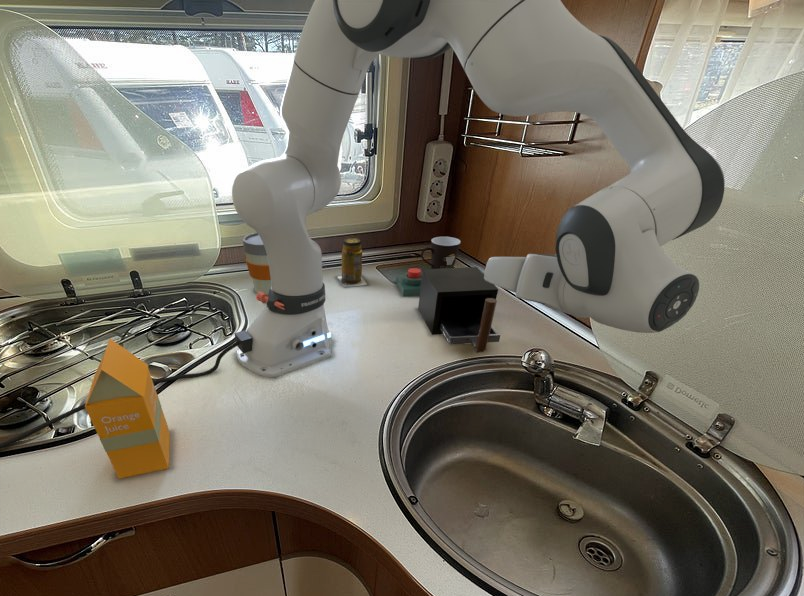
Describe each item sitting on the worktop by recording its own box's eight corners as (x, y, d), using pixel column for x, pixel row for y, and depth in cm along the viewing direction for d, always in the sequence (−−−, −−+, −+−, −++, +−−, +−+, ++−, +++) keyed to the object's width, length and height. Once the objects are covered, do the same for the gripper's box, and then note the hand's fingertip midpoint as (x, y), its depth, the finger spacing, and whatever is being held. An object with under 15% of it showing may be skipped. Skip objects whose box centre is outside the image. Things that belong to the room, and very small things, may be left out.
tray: (507, 353, 90) (520, 301, 83) (455, 356, 89) (465, 303, 82) (480, 319, 103) (490, 270, 96) (435, 321, 102) (441, 273, 95)
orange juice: (117, 479, 66) (67, 374, 54) (124, 441, 73) (80, 341, 61) (170, 468, 68) (132, 364, 56) (171, 432, 75) (138, 333, 63)
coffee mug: (453, 268, 136) (458, 236, 130) (457, 278, 129) (462, 245, 123) (417, 267, 137) (420, 236, 131) (418, 277, 130) (422, 245, 124)
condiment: (359, 274, 133) (360, 236, 125) (367, 285, 126) (368, 244, 119) (337, 276, 131) (336, 238, 124) (343, 287, 125) (343, 247, 118)
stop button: (421, 279, 120) (422, 272, 119) (409, 279, 120) (409, 273, 118) (418, 274, 123) (419, 267, 121) (406, 274, 122) (407, 268, 121)
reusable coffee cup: (286, 299, 118) (281, 246, 110) (243, 297, 120) (235, 244, 111) (296, 282, 128) (292, 231, 120) (256, 280, 130) (250, 230, 121)
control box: (430, 295, 119) (432, 281, 117) (402, 296, 119) (404, 283, 117) (422, 281, 127) (423, 268, 125) (395, 282, 127) (396, 269, 125)
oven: (488, 332, 102) (498, 289, 95) (431, 335, 101) (437, 292, 95) (469, 306, 113) (476, 266, 107) (417, 309, 112) (422, 269, 106)
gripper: (637, 270, 64) (570, 261, 77) (524, 252, 59) (472, 245, 71) (621, 311, 67) (559, 295, 79) (511, 297, 61) (463, 283, 74)
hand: (517, 271), depth 75 cm, fingers open, 8 cm apart
